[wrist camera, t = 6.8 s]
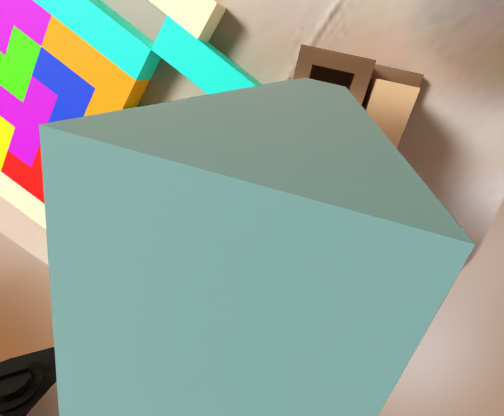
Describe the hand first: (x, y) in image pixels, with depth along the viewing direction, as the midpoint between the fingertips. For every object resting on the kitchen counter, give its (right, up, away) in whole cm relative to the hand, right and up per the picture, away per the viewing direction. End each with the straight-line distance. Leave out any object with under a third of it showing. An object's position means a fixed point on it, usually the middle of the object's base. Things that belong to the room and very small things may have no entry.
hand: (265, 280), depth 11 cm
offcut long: (+9, +10, +16) cm, 21 cm away
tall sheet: (+2, +3, +8) cm, 8 cm away
